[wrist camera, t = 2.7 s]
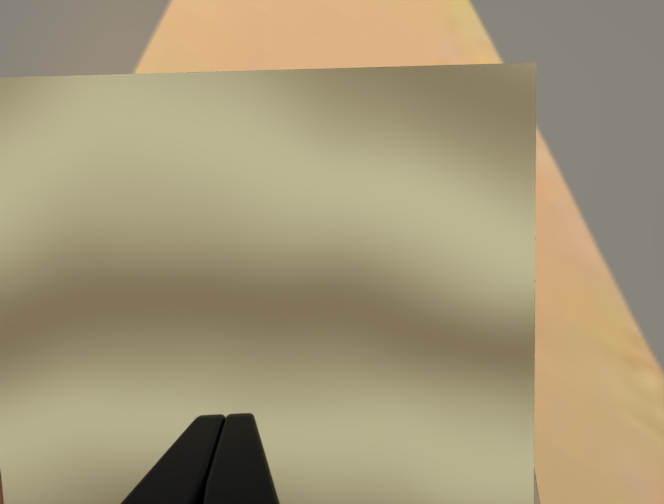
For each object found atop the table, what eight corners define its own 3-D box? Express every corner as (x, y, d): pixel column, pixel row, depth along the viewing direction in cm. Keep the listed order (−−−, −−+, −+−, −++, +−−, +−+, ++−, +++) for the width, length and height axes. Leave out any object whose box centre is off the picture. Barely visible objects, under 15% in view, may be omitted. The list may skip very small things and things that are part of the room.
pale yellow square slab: (511, 518, 15) (533, 554, 13) (44, 543, 14) (12, 582, 13) (511, 78, 13) (536, 62, 12) (-1, 93, 13) (-42, 78, 11)
